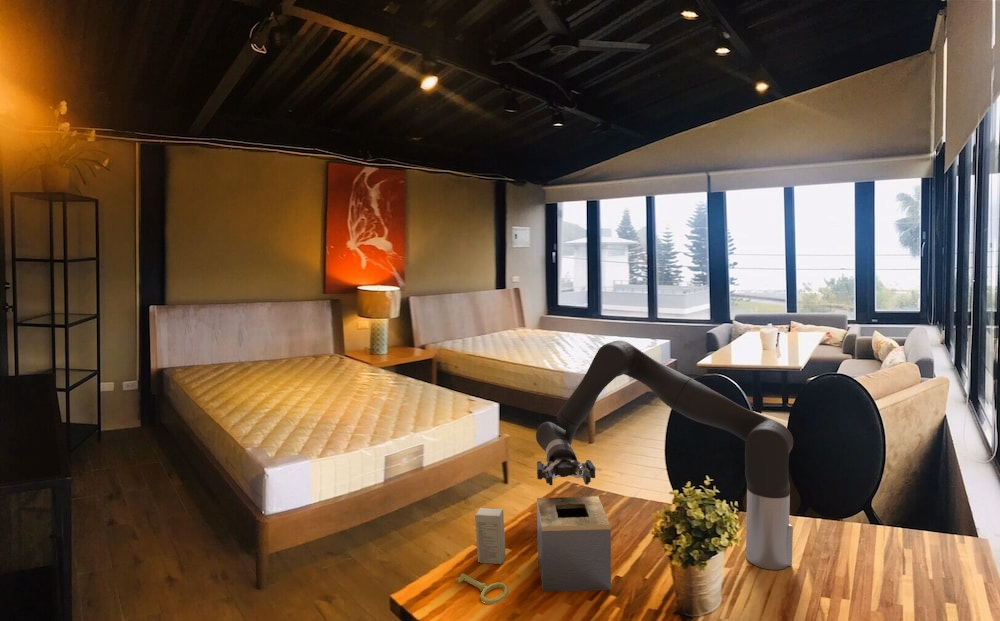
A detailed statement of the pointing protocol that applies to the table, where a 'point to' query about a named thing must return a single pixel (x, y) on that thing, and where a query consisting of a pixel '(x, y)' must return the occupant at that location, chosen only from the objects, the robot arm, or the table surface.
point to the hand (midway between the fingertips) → (569, 481)
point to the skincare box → (490, 535)
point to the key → (485, 588)
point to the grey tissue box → (573, 544)
